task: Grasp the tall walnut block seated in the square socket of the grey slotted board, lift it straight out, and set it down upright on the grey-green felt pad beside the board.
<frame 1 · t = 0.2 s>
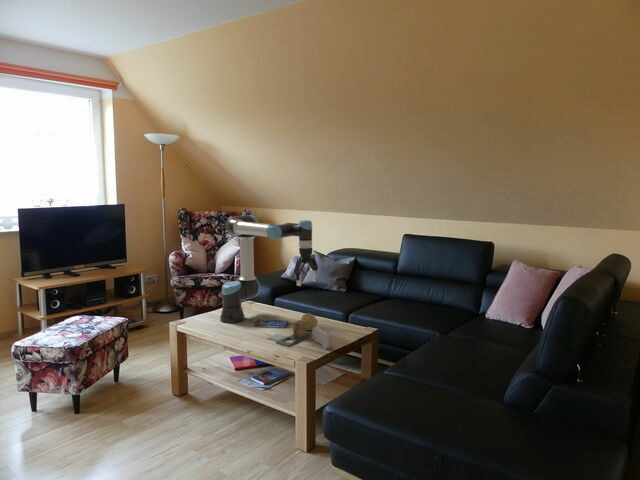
hand: (306, 283, 281), 27 cm above the table, fingers open, 13 cm apart
game controller: (321, 345, 259), on the table
grey slotted board: (295, 339, 267), on the table
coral: (309, 329, 284), on the table
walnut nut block: (299, 337, 270), resting in grey slotted board
felt pad: (277, 338, 269), on the table
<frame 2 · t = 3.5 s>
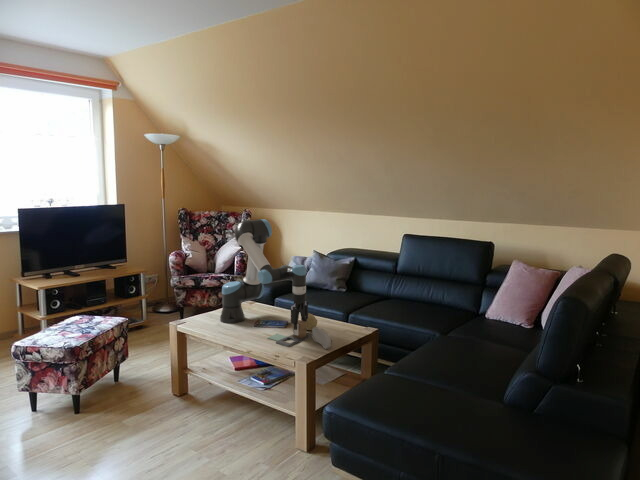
hand: (299, 333, 270), 2 cm above the table, fingers closed on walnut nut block, 5 cm apart
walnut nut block: (299, 337, 270), resting in grey slotted board, touching gripper
everything else where it was.
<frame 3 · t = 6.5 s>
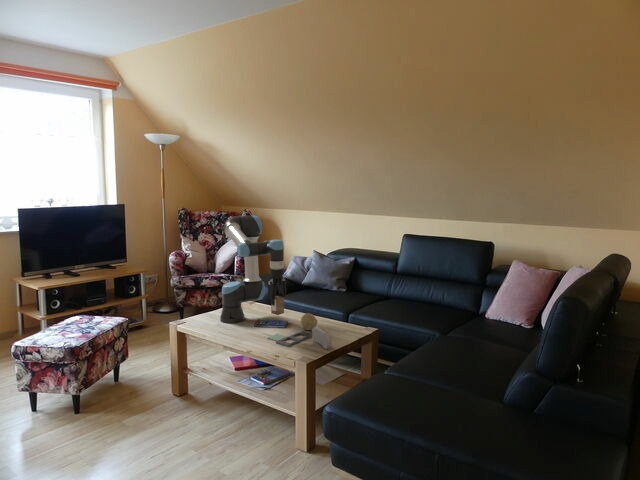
hand: (277, 309, 267), 16 cm above the table, fingers closed on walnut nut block, 5 cm apart
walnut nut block: (277, 313, 268), point 14 cm above the table, touching gripper
everything else where it was.
when the fingers open (4 cm above the table, at t = 9.5 s): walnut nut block drops 1 cm, resting on felt pad.
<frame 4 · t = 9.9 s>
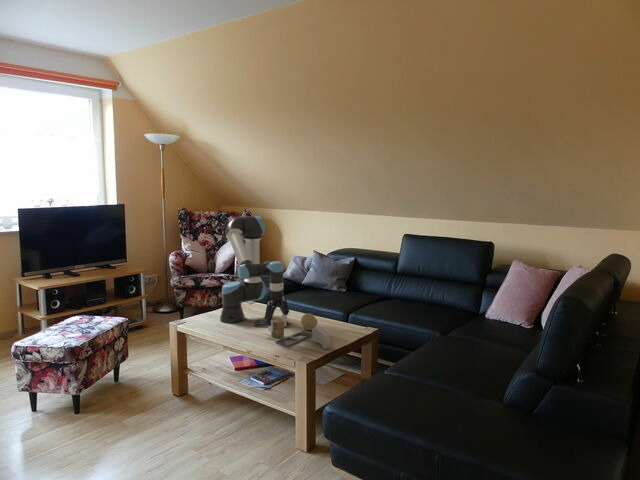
hand: (277, 328, 269), 5 cm above the table, fingers open, 10 cm apart
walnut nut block: (277, 336, 269), point 1 cm above the table, touching felt pad
everything else where it was.
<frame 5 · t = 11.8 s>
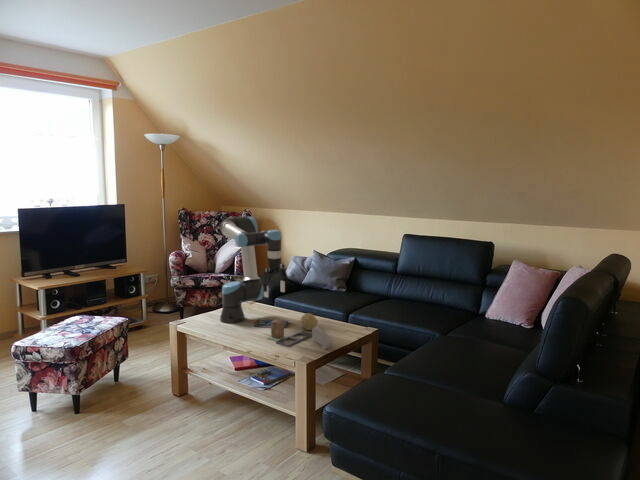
hand: (274, 294, 274), 23 cm above the table, fingers open, 13 cm apart
nothing on the table moved.
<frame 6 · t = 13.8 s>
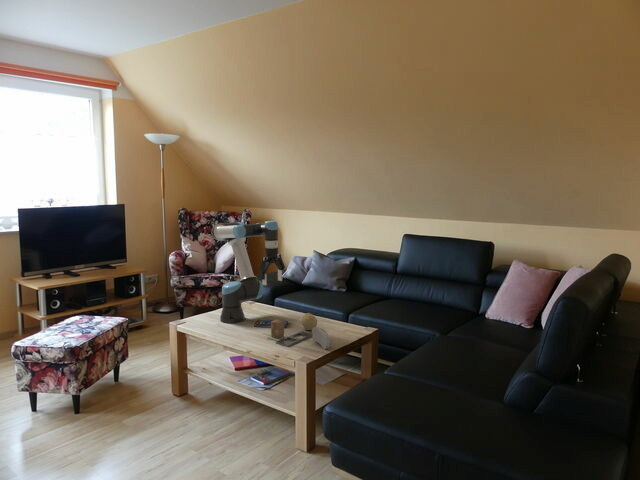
hand: (272, 282, 286), 27 cm above the table, fingers open, 13 cm apart
nothing on the table moved.
at the end: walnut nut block inside the target area on the felt pad (0.1 cm from its centre), point 0.6 cm above the felt pad's base; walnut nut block tilted 0°; the gripper is holding nothing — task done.
